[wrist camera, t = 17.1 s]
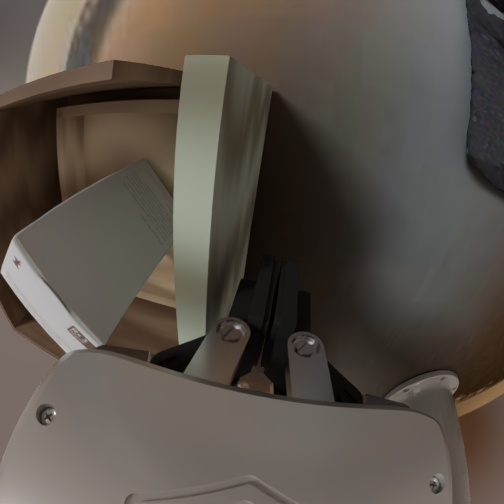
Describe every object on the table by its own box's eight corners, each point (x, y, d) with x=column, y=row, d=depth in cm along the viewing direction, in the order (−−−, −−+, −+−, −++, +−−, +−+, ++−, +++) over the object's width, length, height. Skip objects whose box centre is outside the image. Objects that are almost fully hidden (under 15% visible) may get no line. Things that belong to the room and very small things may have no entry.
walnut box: (206, 290, 25) (155, 404, 15) (83, 257, 26) (13, 330, 16) (225, 82, 16) (113, 59, 5) (70, 91, 17) (-45, 118, 6)
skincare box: (112, 186, 19) (-6, 271, 9) (148, 153, 17) (7, 230, 7) (156, 247, 21) (67, 360, 11) (196, 222, 19) (102, 351, 9)
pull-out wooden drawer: (239, 300, 25) (204, 414, 15) (103, 265, 26) (36, 341, 16) (272, 87, 15) (230, 56, 5) (92, 87, 16) (-26, 109, 6)
